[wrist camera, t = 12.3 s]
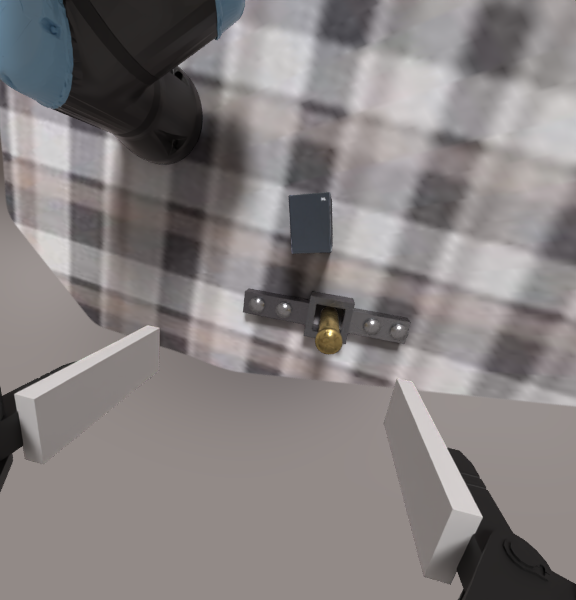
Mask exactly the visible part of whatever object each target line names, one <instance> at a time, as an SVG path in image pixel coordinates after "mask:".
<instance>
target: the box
mask: <svg viewBox="0 0 576 600" xmlns="http://www.w3.org/2000/svg"><path fill="white" fill-rule="evenodd" d="M289 211H290V229H291V246H292V254H299V253H331V252H332V235H333V234H332V199H331V194H330V192H324V193H313V194H301V195H289Z"/></svg>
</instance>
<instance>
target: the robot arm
mask: <svg viewBox="0 0 576 600" xmlns="http://www.w3.org/2000/svg"><path fill="white" fill-rule="evenodd" d="M244 7H245V0H0V79H1V80H2V81H3V82H4V83H5V84H7V85H8V86H10V87H11V88H13V89H14V90H16V91H18V92H20V93H22V94H24V95H26V96H28V97H30V98H32V99H34V100H36V101H37V102H38V103H40V104H41V105H43V106H46V107H48V108H51V109H53V110H56V111H58V112H61V113H63V114H66V115H68V116H71V117H73V118H75V119H78V120H80V121H83V122H85V123H88V124H90V125H93V126H95V127H97V128H100V129H102V130H105V131H107V132H110V133H112V134H114V135H115V136H116V137H117V138H118V139H119V140H120V141H121V142H122V143H123V144H124V145H125V146H126V147H127V148H128V149H129V150H130V151H131V152H133V153H134V154H136V155H137V156H139V157H141V158H143V159H145V160H148V161H150V162H153V163H157V164H172V163H175V162H177V161H179V160H181V159H183V158H184V157H185V156H187V155H188V154H189V153H190V151H191V150H192V149H193V148H194V146H195V144H196V142H197V140H198V138H199V135H200V131H201V126H202V107H201V102H200V98H199V95H198V92H197V90H196V88H195V86H194V84H193V83H192V81H191V80H190V78H189V77H188V76H187V75H186V74H185V73H184V72H183V71H182V70H181V69H180V67H179V66H178V65H179V64H181V63H182V62H183V61H185V60H186V59H187V58H189V57H190V56H191V55H193V54H194V53H196V52H197V51H198V50H200V49H201V48H202V47H204V46H205V45H206V44H208V43H209V42H210V41H212V40H213V39H215V40H218V39H219V38H220V37H221V35H222V33H223V32H224V31H225V30H227V29H228V28H229V27H230V26H232V25H233V24H234V23H235V22H236V21H238V20H239V19H240V17H241V16H242V14H243V10H244ZM159 348H160V328H158V327H153V326H148V325H147V326H145V327H143V328H141V329H139V330H137V331H135V332H133V333H132V334H130V335H128V336H126V337H124V338H122V339H120V340H118V341H116V342H114V343H112V344H110V345H108V346H106V347H105V348H102V349H101V350H99V351H97V352H95V353H93V354H91V355H89V356H87V357H85V358H83V359H81V360H79V361H76V362H72V363H69V364H66V365H63V366H61V367H59V368H57V369H55V370H53V371H51V372H50V373H47V374H45V375H43V376H41V377H40V378H37V379H35V380H33V381H31V382H29V383H27V384H25V385H23V386H21V387H19V388H17V389H15V390H13V391H11V392H9V393H7V394H5V395H3V396H2V394H1V388H0V492H1V489H2V487H3V484H4V482H5V479H6V477H7V475H8V472H9V470H10V467H11V465H12V462H13V455H12V453H13V452H15V451H16V450H17V449H19V448H20V447H22V446H23V451H24V456H25V459H26V460H30V461H33V462H37V463H40V464H45V463H46V462H47V461H48V460H49V459H51V458H52V457H53V456H54V455H55V454H57V453H58V452H59V451H60V450H62V449H63V448H64V447H66V446H67V445H68V444H69V443H70V442H72V441H73V440H74V439H75V438H77V437H78V436H79V435H80V434H82V433H83V432H84V431H85V430H86V429H88V428H89V427H90V426H91V425H93V424H94V423H95V422H96V421H98V420H99V419H100V418H101V417H103V416H104V415H105V414H106V413H108V412H109V411H110V410H111V409H112V408H114V407H115V406H116V405H117V404H119V402H121V401H122V400H124V399H125V398H126V397H127V396H128V395H129V394H131V393H132V392H133V391H135V390H136V389H137V388H138V387H140V386H141V385H142V384H143V383H144V382H146V381H147V380H148V379H149V378H151V377H152V376H153V375H154V374H156V373H157V372H158V371H159ZM384 426H385V430H386V434H387V438H388V441H389V445H390V449H391V452H392V456H393V461H394V465H395V468H396V472H397V476H398V480H399V484H400V487H401V491H402V495H403V499H404V503H405V507H406V511H407V514H408V518H409V522H410V526H411V530H412V534H413V538H414V541H415V545H416V549H417V553H418V557H419V561H420V564H421V568H422V572H423V576H424V577H427V578H430V579H433V580H437V581H440V582H444V583H447V584H451V582H452V580H453V578H454V576H455V574H456V572H458V575H459V577H460V580H461V583H462V586H463V588H464V589H463V591H462V593H461V595H460V598H459V599H458V600H576V584H575V583H573V582H571V581H569V580H567V579H565V578H563V577H562V576H560V575H558V574H556V573H555V572H553V571H551V569H550V567H549V565H548V564H547V562H546V561H545V560H544V559H543V557H542V556H541V555H540V554H539V553H538V552H537V550H535V549H534V548H533V547H532V546H531V545H530V544H529V543H527V542H526V541H525V540H523V539H522V538H520V537H519V536H517V535H515V534H514V533H513V532H512V531H511V529H510V527H509V525H508V524H507V522H506V520H505V518H504V517H503V515H502V513H501V512H500V510H499V508H498V507H497V505H496V503H495V502H494V500H493V498H492V497H491V495H490V493H489V491H488V490H486V486H485V485H484V483H483V481H482V480H481V479H480V478H479V475H478V473H477V471H476V470H475V468H474V466H473V465H472V463H471V462H470V461H469V460H468V459H467V458H466V457H465V456H464V455H463V454H462V453H461V452H460V451H459V450H455V449H450V448H447V447H446V445H445V443H444V441H443V440H442V438H441V436H440V434H439V432H438V430H437V428H436V426H435V424H434V422H433V420H432V418H431V416H430V414H429V413H428V411H427V409H426V407H425V405H424V403H423V401H422V399H421V397H420V395H419V393H418V391H417V389H416V388H415V386H414V384H413V382H412V381H407V380H403V379H398V378H397V380H396V383H395V386H394V390H393V393H392V396H391V400H390V403H389V407H388V410H387V413H386V417H385V420H384Z"/></svg>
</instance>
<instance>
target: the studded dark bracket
mask: <svg viewBox="0 0 576 600" xmlns="http://www.w3.org/2000/svg"><path fill="white" fill-rule="evenodd" d="M317 304H320V305H326V306H331V307H337V308H342V309H344V311H343V316H342V320H341V325H340V329H339V332H340V334H341V336H342V343H343V344H346V340H347V336H348V333H351V334H356V335H361V336H366V337H371V338H376V339H381V340H386V341H392V342H397V343H402V344H405V341H406V337H407V336H408V330H409V327H410V324H411V322H410V321H409V320H408V318H405V317H399V316H394V315H389V314H383V313H378V312H372V311H367V310H362V309H356V308H354V305H355V303H354V300H353V298H347V297H342V296H336V295H331V294H325V293H320V292H314V291H312V294H311V297H310V300H308V299H302V298H297V297H292V296H286V295H281V294H275V293H270V292H265V291H259V290H254V289H248V290H247V291H245V298H244V307H243V312H244V313H249V314H254V315H260V316H265V317H270V318H275V319H280V320H285V321H290V322H295V323H300V324H305V325H306V326H305V331H304V336H308V337H313V338H316V335H317V333H318V332H319V325H316V324H313V321H314V316H315V310H316V305H317Z"/></svg>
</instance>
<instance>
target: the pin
mask: <svg viewBox="0 0 576 600" xmlns="http://www.w3.org/2000/svg"><path fill="white" fill-rule="evenodd" d="M315 344H316V347H317V349H318V350H319V351H320V352H322V353H324V354H334V353H336V352H338V351H339V350H340V349H341V347H342V336H341V334H340V332H339V319H338V312H337V310H336V309H335V308H333V307H325V308H324V309H323V310H322V311H321V315H320V324H319V332H318V333H317V335H316V339H315Z"/></svg>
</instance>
